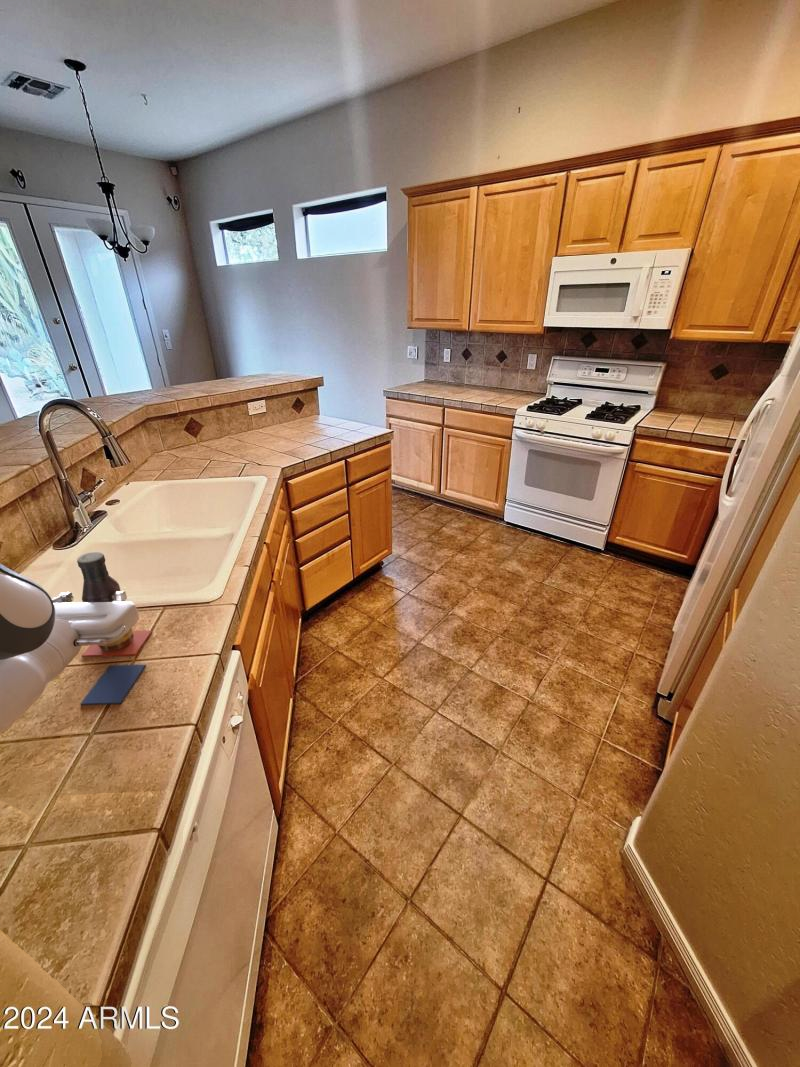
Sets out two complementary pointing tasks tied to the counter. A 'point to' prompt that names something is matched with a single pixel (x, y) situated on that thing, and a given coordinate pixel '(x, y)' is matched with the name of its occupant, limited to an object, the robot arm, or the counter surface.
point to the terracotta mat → (128, 650)
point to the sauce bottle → (100, 590)
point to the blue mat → (113, 685)
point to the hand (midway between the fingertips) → (95, 594)
